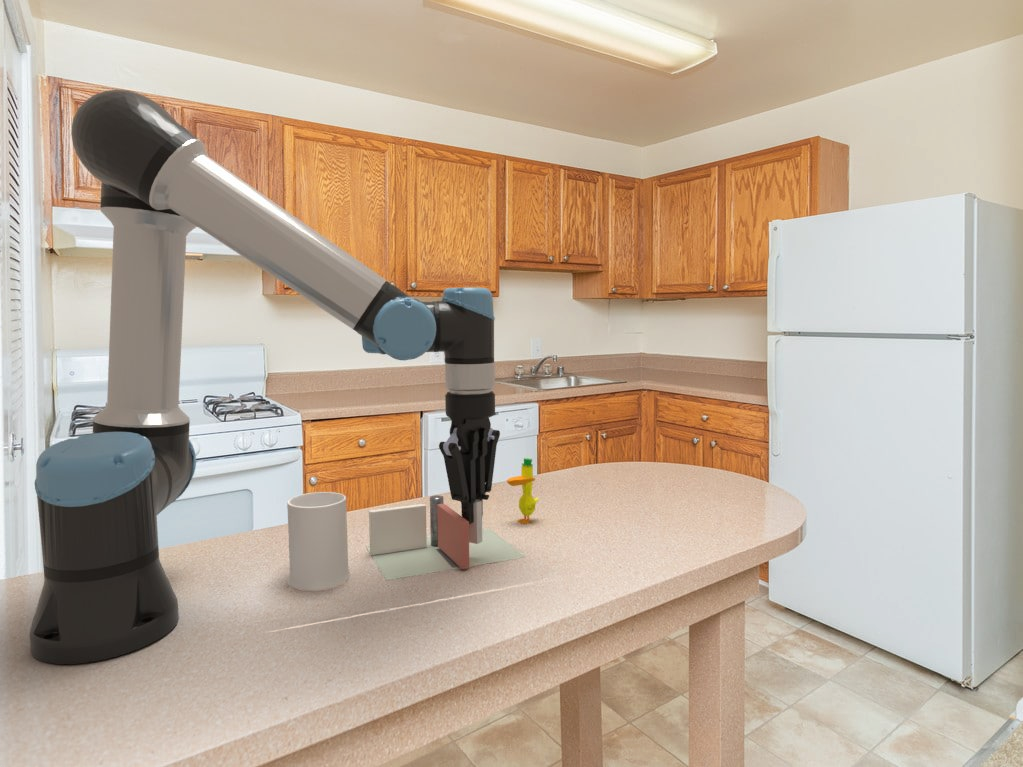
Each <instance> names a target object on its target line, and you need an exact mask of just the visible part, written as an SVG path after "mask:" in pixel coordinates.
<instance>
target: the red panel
mask: <svg viewBox="0 0 1023 767" xmlns="http://www.w3.org/2000/svg"><path fill="white" fill-rule="evenodd" d="M437 515H438V547H439V548H440V549H441V550H442V551H443V552H444V553H445V554H446V555H447V556H449V557H450V558H451V559H452V560H453V561H454V562H455V563H456V564H457V565H458V566H459V567H460V568H459V569H461V570H466V569H468V568H469V569H470V567H469V522H468V521H467V520H466V519H464V518H463V517H462V515H460V514H459V513H458V512H456V511H455V510H454V509H453V508H451V507H450V506H448V505H447V504H446V503H443V504H437Z"/></svg>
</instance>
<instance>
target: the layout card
mask: <svg viewBox="0 0 1023 767" xmlns="http://www.w3.org/2000/svg"><path fill="white" fill-rule="evenodd" d="M365 547H366V549H367V551H368V552H369V554H370V545H366V546H365ZM371 558H372V560H373V561H374V562H375V564H376V566H377V568H378V569H379V571H380V573H381V574H382V576H383V577H384V579H385V581H392V580H397V579H403V578H409V577H415V576H422V575H427V574H434V573H441V572H444V571H450V570H457V569H461V568H460V567H459V566H458V565H457V564H456V563H455V562H454V561H453V560H452V559H451V558H450V557H449V556H447V555H446V554H445V553H444V552H443V551H442V550H441V549H440V548H439V547H433V546H431V536H428V537H427V547H425V548H418V549H412V550H405V551H398V552H392V553H385V554H378V555H372V556H371ZM522 558H526V556H525V555H524V554H523V553H522V552H520V551H519V550H518V549H516V548H515V547H514V546H513V545H511V544H510V543H509V542H508V541H507V540H505V539H504V538H503V537H501V536H500V535H499V534H498V533H497V532H495V531H494V530H493V529H492V528H484V529H483V528H482V542H480V543H479V544H475V543H470V542H469V568H470V567H475V566H476V567H477V566H480V565H481V566H482V565H486V564H493V563H499V562H505V561H512V560H517V559H522Z"/></svg>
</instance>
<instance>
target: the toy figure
mask: <svg viewBox="0 0 1023 767" xmlns="http://www.w3.org/2000/svg"><path fill="white" fill-rule="evenodd" d="M532 462H533V459H532V458H527V457H525V458H523V463H521V470H520V471H521V474H520V475H516V476H512V477H509V478H508V479H506V482H507V484H508V485H510V486H511V487H516V486H521V489H522V495H521V497H520V498H519V499H518V509H519V511H520V512H521V514H522V516H523V518H519V519H518V520H517V522H518V523H520V524H521V525H524V524H529V523H531V520H530V516H532V515H533V514H534V512H535V511H536V504H537V502H538V500H539V499H540V497H536V498H534V497H533V496H532V490H533V482H535V481H536V478H535V477H534V464H532Z"/></svg>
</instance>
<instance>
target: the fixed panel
mask: <svg viewBox="0 0 1023 767" xmlns="http://www.w3.org/2000/svg"><path fill="white" fill-rule="evenodd" d="M368 522H369V523H368V524H369V526H368V528H369V529H368V531H369V534H368V535H369V546H370V553H369V554H370V556H371V557H372V555H378V554H385V553H392V552H398V551H405V550H412V549H418V548H425V547H427V505H426V504H425V503H418V504H411V505H402V506H395V507H386V508H385V507H384V508H378V509H377V508H376V509H370V510H368Z"/></svg>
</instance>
